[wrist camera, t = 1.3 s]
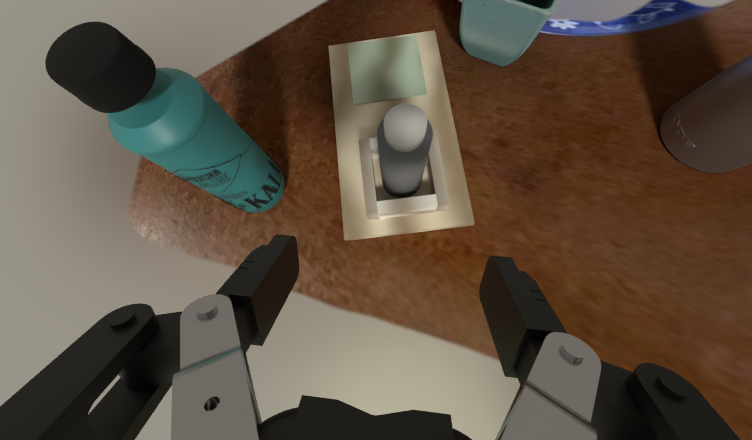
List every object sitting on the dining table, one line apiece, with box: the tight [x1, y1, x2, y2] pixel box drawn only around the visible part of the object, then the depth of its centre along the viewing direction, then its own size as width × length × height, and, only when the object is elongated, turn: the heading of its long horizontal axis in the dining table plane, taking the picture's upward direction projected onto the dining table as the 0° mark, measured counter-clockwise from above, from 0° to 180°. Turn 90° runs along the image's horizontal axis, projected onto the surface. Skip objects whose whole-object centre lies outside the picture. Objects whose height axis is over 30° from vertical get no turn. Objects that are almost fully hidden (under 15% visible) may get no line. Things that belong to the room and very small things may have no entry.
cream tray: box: [329, 30, 475, 241], centre depth 32 cm, size 14×26×3 cm, turn 6°
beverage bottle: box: [46, 22, 285, 213], centre depth 23 cm, size 6×7×20 cm
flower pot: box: [460, 0, 559, 66], centre depth 31 cm, size 9×9×9 cm
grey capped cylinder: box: [377, 104, 433, 198], centre depth 25 cm, size 4×4×11 cm
